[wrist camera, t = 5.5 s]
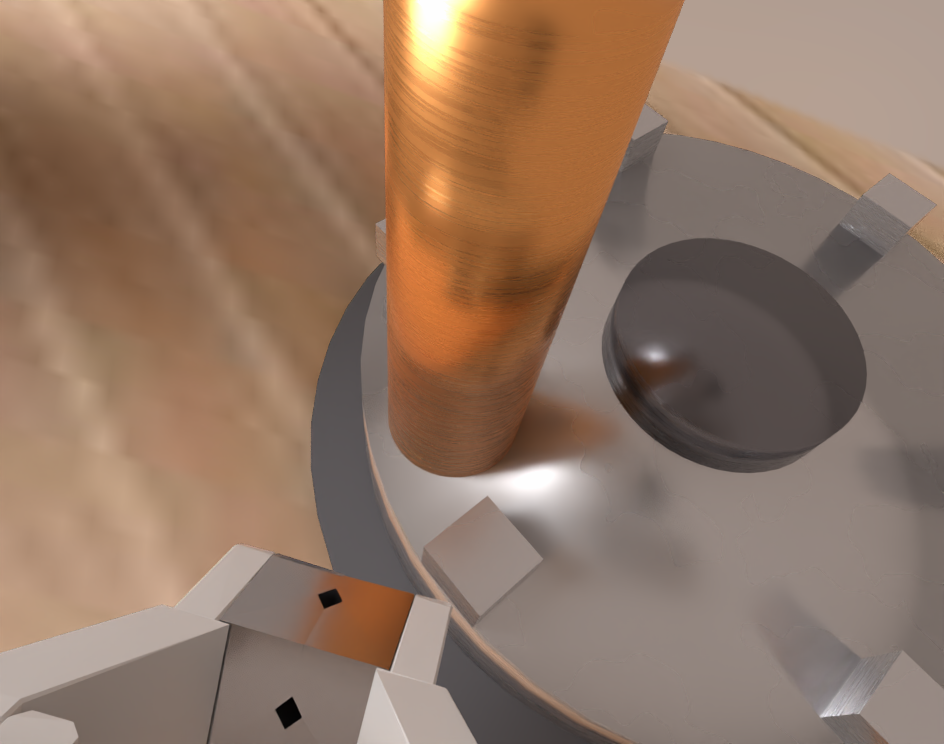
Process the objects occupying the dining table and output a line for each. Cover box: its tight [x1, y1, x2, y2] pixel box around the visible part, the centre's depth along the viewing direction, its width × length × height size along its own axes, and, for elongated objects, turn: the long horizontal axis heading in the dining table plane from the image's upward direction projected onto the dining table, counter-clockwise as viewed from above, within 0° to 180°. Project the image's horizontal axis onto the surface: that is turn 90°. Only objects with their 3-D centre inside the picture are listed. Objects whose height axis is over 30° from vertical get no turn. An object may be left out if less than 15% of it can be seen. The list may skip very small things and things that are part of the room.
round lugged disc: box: [361, 0, 944, 744], centre depth 13 cm, size 18×18×13 cm
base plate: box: [311, 262, 592, 744], centre depth 20 cm, size 21×21×2 cm
